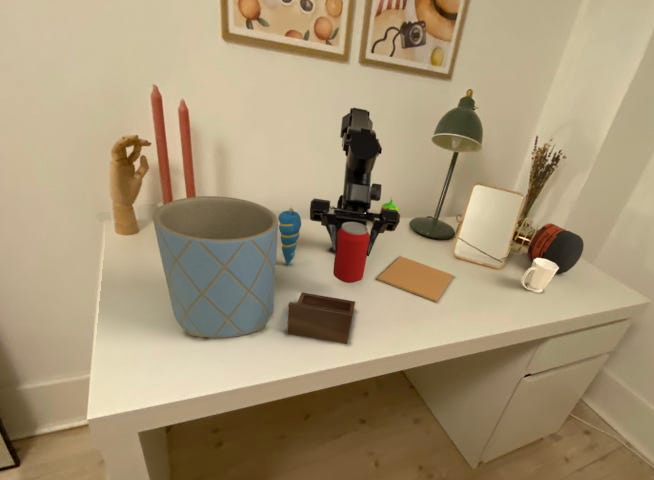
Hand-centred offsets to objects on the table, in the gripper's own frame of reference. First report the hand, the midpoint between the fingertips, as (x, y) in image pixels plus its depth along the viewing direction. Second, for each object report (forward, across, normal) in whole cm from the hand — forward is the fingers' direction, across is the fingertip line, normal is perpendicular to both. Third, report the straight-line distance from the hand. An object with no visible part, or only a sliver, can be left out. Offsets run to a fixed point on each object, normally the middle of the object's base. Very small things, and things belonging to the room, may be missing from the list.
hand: (351, 253), depth 79 cm
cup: (-2, +53, +19) cm, 56 cm away
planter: (+15, -24, +2) cm, 28 cm away
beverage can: (+4, 0, +6) cm, 7 cm away
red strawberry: (-28, +14, +38) cm, 49 cm away
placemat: (-1, +19, +18) cm, 26 cm away
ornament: (-1, -14, +18) cm, 23 cm away
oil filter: (-13, +66, +30) cm, 74 cm away
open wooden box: (+15, -5, +1) cm, 15 cm away
